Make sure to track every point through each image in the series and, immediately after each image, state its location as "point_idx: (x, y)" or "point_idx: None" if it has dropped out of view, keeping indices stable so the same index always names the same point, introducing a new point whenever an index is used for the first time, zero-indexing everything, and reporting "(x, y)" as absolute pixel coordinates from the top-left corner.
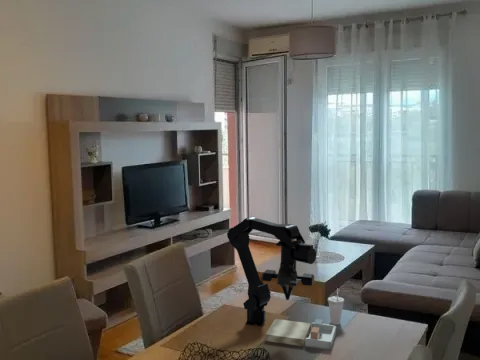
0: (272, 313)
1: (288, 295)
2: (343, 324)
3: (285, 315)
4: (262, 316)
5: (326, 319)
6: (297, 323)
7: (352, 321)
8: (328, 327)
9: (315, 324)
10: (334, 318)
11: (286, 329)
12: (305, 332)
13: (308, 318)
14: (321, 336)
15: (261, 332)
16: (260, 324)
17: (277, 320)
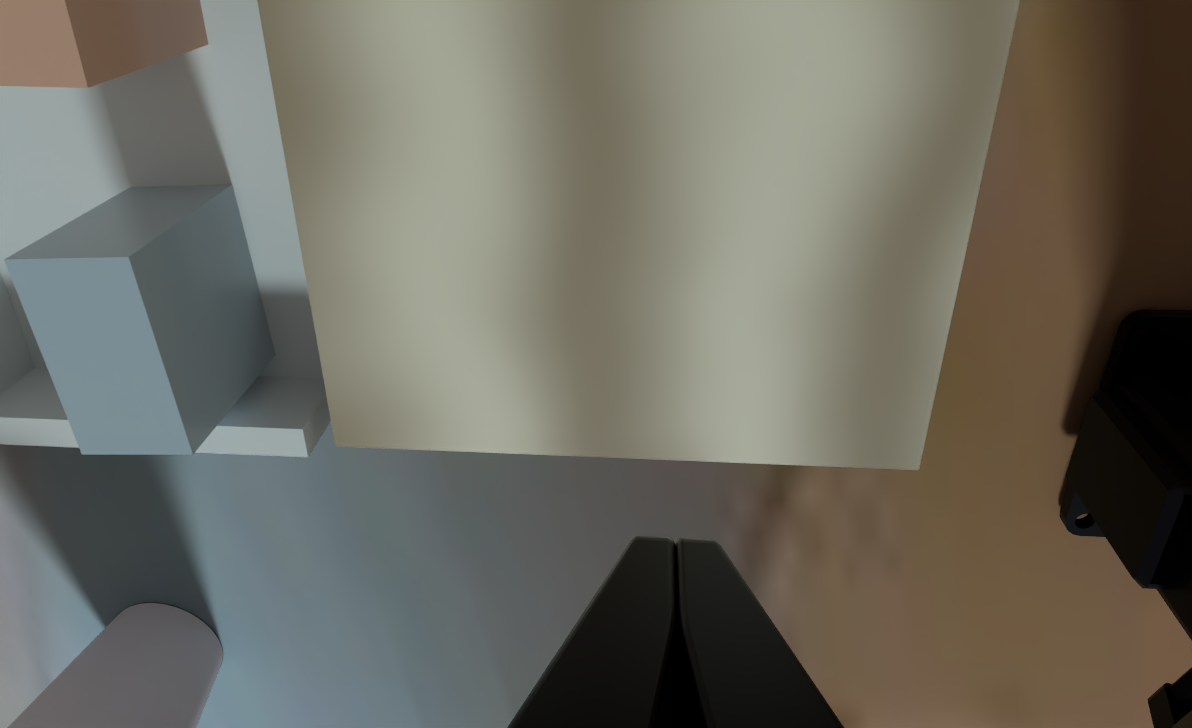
0: (961, 716)
1: (620, 653)
2: (66, 621)
3: None
4: (1168, 450)
5: (289, 695)
6: (531, 394)
7: (17, 704)
8: None
9: (119, 252)
10: (111, 656)
11: (662, 95)
12: (296, 71)
13: (492, 679)
14: (118, 175)
15: (1116, 81)
16: (1143, 343)
17: (876, 419)
